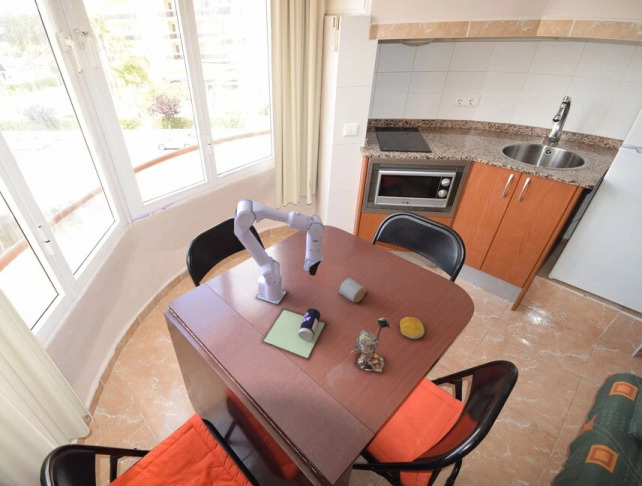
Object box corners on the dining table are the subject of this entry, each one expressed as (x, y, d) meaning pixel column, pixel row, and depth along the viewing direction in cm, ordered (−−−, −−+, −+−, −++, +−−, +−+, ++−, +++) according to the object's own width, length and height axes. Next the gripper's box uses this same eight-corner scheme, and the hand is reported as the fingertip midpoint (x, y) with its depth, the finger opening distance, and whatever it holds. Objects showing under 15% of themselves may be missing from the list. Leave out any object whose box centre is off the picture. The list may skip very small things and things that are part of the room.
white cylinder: (353, 307, 128) (356, 292, 123) (338, 296, 133) (339, 282, 129) (370, 295, 133) (372, 280, 129) (354, 285, 139) (356, 271, 134)
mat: (263, 341, 115) (263, 340, 115) (284, 310, 128) (283, 309, 127) (307, 358, 109) (307, 358, 109) (324, 323, 121) (324, 323, 121)
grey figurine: (356, 345, 113) (363, 304, 101) (388, 360, 107) (399, 319, 96) (346, 361, 107) (352, 320, 96) (379, 379, 102) (390, 337, 90)
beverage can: (314, 304, 120) (305, 328, 111) (324, 314, 121) (316, 338, 112) (303, 310, 123) (294, 333, 114) (313, 319, 124) (305, 343, 115)
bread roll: (401, 338, 115) (403, 331, 112) (398, 320, 122) (400, 312, 119) (425, 341, 113) (428, 334, 111) (421, 322, 120) (423, 315, 118)
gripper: (316, 259, 114) (315, 288, 122) (330, 239, 125) (328, 266, 133) (298, 254, 117) (298, 283, 125) (313, 235, 128) (312, 262, 135)
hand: (312, 274), depth 129 cm, fingers closed
